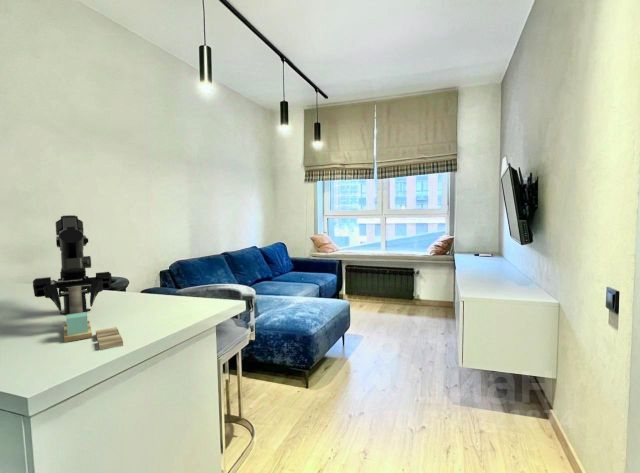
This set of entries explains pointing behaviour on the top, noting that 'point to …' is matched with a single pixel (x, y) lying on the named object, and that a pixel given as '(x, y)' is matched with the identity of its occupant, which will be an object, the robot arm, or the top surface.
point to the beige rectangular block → (109, 338)
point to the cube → (77, 323)
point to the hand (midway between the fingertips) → (76, 307)
